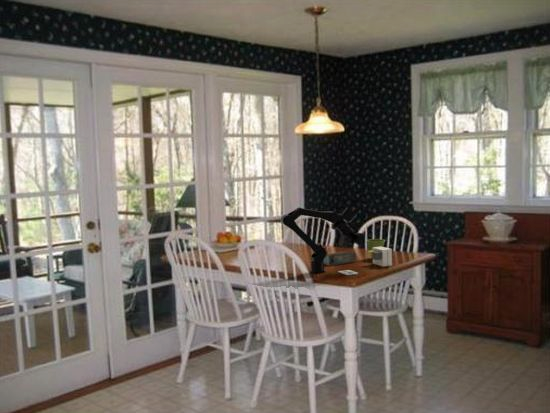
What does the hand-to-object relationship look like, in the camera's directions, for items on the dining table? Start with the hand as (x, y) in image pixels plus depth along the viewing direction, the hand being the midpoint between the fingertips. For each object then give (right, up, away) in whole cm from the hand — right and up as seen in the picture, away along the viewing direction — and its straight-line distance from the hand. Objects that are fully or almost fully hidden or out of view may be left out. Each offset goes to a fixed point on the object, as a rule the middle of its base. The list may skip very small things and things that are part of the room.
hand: (362, 246), depth 320 cm
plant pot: (+13, -10, +30) cm, 34 cm away
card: (-9, -14, -11) cm, 20 cm away
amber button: (+7, -7, +10) cm, 14 cm away
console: (+13, -11, +9) cm, 20 cm away
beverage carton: (-11, -12, +19) cm, 25 cm away
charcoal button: (+10, -8, +5) cm, 13 cm away
